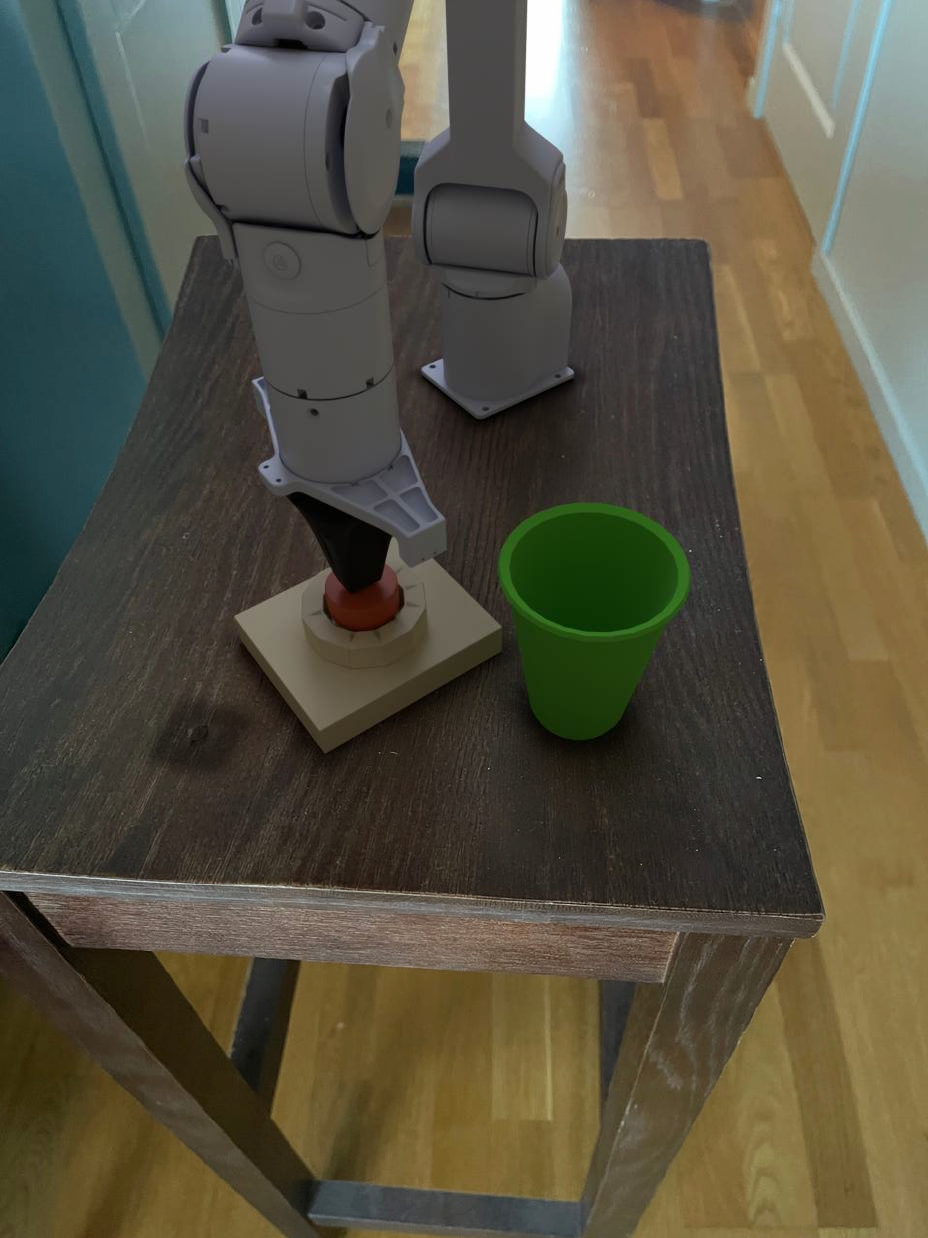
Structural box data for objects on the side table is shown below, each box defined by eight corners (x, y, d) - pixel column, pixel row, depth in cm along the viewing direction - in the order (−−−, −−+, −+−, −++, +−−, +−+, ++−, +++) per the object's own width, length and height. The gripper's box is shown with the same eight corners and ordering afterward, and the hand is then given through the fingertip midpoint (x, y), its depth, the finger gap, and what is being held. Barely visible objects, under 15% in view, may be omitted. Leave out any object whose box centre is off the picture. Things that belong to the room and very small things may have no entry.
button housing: (408, 555, 59) (403, 509, 56) (502, 651, 54) (503, 605, 51) (240, 640, 55) (226, 594, 52) (324, 754, 49) (314, 711, 46)
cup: (540, 621, 55) (550, 479, 47) (682, 680, 52) (720, 539, 44) (465, 728, 50) (461, 591, 42) (617, 801, 47) (646, 668, 39)
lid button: (375, 569, 53) (372, 547, 52) (413, 610, 51) (411, 588, 50) (315, 599, 52) (311, 578, 50) (352, 643, 50) (348, 621, 48)
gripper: (173, 321, 42) (234, 536, 52) (333, 485, 34) (368, 701, 44) (307, 274, 45) (340, 487, 55) (484, 416, 37) (484, 635, 47)
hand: (360, 579), depth 50 cm, fingers closed
